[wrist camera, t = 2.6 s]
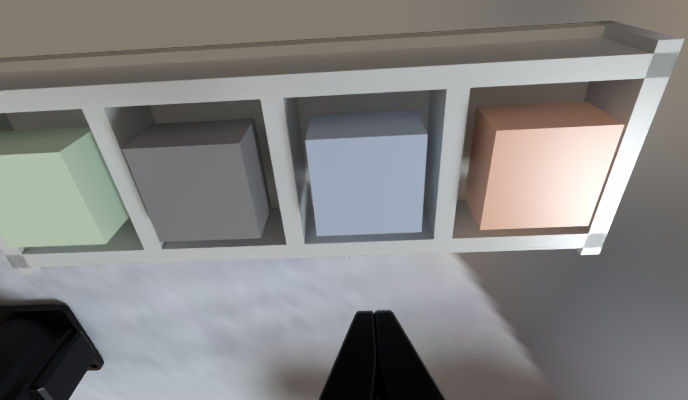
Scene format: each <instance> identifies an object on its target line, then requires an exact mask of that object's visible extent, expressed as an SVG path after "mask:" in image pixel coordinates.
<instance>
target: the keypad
mask: <svg viewBox="0 0 688 400" xmlns="http://www.w3.org/2000/svg"><path fill="white" fill-rule="evenodd" d="M683 41H684V39H683V38H679V37H675V36H671V35H667V34H663V33H659V32H655V31H651V30H647V29H643V28H639V27H635V26H630V25H626V24H622V23H619V22H615V21H603V22H602V21H601V22H584V23H569V24H553V25H537V26H520V27H502V28H486V29H469V30H453V31H437V32H420V33H404V34H388V35H373V36H372V35H371V36H355V37H340V38H339V37H338V38H323V39H306V40H291V41H290V40H289V41H273V42H257V43H241V44H224V45H207V46H191V47H174V48H158V49H142V50H127V51H110V52H95V53H94V52H92V53H78V54H77V53H76V54H60V55H44V56H29V57H28V56H27V57H11V58H0V132H5V131H25V130H44V129H63V128H82V127H90V129H91V131H92V133H93V135H94V138H95V140H96V142H97V144H98V147H99V149H100V151H101V153H102V156H103V158H104V160H105V162H106V165H107V167H108V169H109V171H110V174H111V176H112V178H113V180H114V183H115V185H116V187H117V189H118V192H119V194H120V196H121V198H122V201H123V203H124V205H125V207H126V210H127V212H128V214H129V218H128V219H127V220H126V221H125V222H124V224H123V225H122V226H121V227H120V228H119V229H118V231H117V232H116V233H115V234H114V235H113V237H112V238H111V239H110V240H109V241H108V242H107V244H97V245H71V246H44V247H18V248H9V247H8V246H7V244H6V243H5V241H4V240H3V239H2V237H1V236H0V249H1V250H2V252H3V253H4V255H5V256H6V257H7V259H8V260H9V262H10V263H11V264H12V266H13V267H14V269H15V270H16V271H17V273H18V274H35V273H36V272H37V271H38V270H39V269H40V268H41V267H60V266H88V265H116V264H145V263H173V262H201V261H230V260H258V259H286V258H315V257H343V256H371V255H400V254H428V253H456V252H482V251H483V252H484V251H513V250H538V249H540V250H541V249H568V248H576V249H577V251H578V252H579V253H580V254H581V255H591V254H599V253H600V251H601V248H602V246H603V243H604V241H605V238H606V235H607V233H608V230H609V228H610V225H611V223H612V220H613V218H614V215H615V213H616V210H617V208H618V205H619V203H620V200H621V198H622V195H623V192H624V190H625V188H626V185H627V183H628V180H629V178H630V175H631V173H632V170H633V167H634V165H635V162H636V160H637V157H638V155H639V152H640V150H641V147H642V145H643V142H644V140H645V137H646V135H647V132H648V130H649V127H650V124H651V122H652V120H653V117H654V115H655V112H656V110H657V107H658V104H659V102H660V99H661V97H662V94H663V92H664V89H665V87H666V84H667V82H668V79H669V77H670V74H671V72H672V69H673V67H674V64H675V62H676V59H677V57H678V54H679V52H680V49H681V47H682V44H683ZM582 101H587V102H589V103H591V104H592V105H594V106H595V107H597V108H599V109H600V110H602V111H604V112H605V113H607V114H608V115H610V116H612V117H613V118H615V119H617V120H618V121H620V122H622V123H623V124H625V125H624V128H623V131H622V133H621V136H620V139H619V142H618V145H617V147H616V150H615V153H614V156H613V159H612V161H611V164H610V167H609V170H608V173H607V175H606V178H605V181H604V184H603V186H602V189H601V192H600V195H599V198H598V200H597V203H596V206H595V209H594V212H593V214H592V217H591V220H590V223H589V226H573V227H547V228H520V229H494V230H480V229H479V227H478V225H477V223H476V221H475V219H474V217H473V215H472V212H471V210H470V208H469V206H468V204H467V202H466V200H465V191H466V183H467V175H468V168H469V160H470V153H471V145H472V138H473V130H474V123H475V115H476V108H477V107H486V106H505V105H525V104H544V103H563V102H582ZM409 110H418V113H419V115H420V117H421V120H422V122H423V124H424V127H425V129H426V131H427V134H428V138H427V154H426V169H425V185H424V201H423V216H422V232H414V233H388V234H362V235H335V236H317V232H316V224H315V216H314V208H313V200H312V192H311V184H310V176H309V168H308V160H307V152H306V143H305V139H306V134H307V130H308V126H309V122H310V118H311V116H313V115H332V114H352V113H371V112H390V111H409ZM236 119H254V120H255V126H256V131H257V136H258V141H259V146H260V151H261V156H262V161H263V166H264V172H265V177H266V182H267V187H268V192H269V197H270V202H271V208H270V211H269V214H268V217H267V220H266V224H265V227H264V230H263V233H262V236H261V238H256V239H229V240H203V241H176V242H160V241H159V238H158V236H157V233H156V231H155V228H154V226H153V224H152V221H151V219H150V216H149V214H148V211H147V209H146V206H145V204H144V202H143V199H142V197H141V194H140V192H139V189H138V187H137V185H136V182H135V180H134V177H133V175H132V172H131V170H130V167H129V165H128V163H127V160H126V158H125V155H124V153H123V150H122V149H123V148H124V147H125V146H126V145H128V144H129V143H130V142H131V141H132V140H133V139H135V138H136V137H137V136H138V135H139V134H141V133H142V132H143V131H144V130H145V129H146V128H148V127H149V126H150V125H151V124H159V123H179V122H198V121H217V120H236Z"/></svg>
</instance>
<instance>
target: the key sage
mask: <svg viewBox="0 0 688 400" xmlns="http://www.w3.org/2000/svg"><path fill="white" fill-rule="evenodd" d="M128 218H129V214H128V212H127V210H126V207H125V205H124V203H123V201H122V198H121V196H120V194H119V192H118V189H117V187H116V185H115V183H114V180H113V178H112V176H111V174H110V171H109V169H108V167H107V165H106V162H105V160H104V158H103V156H102V153H101V151H100V149H99V147H98V144H97V142H96V140H95V138H94V135H93V133H92V131H91V129H90V127H82V128H63V129H44V130H25V131H5V132H0V236H1V237H2V239H3V240H4V241H5V243H6V244H7V246H8V247H9V248H18V247H44V246H71V245H97V244H107V242H108V241H109V240H110V239H111V238H112V237H113V235H114V234H115V233H116V232H117V231H118V229H119V228H120V227H121V226H122V225H123V224H124V222H125V221H126V220H127V219H128Z"/></svg>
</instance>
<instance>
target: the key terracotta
mask: <svg viewBox="0 0 688 400" xmlns="http://www.w3.org/2000/svg"><path fill="white" fill-rule="evenodd" d="M624 125H625V124H623V123H622V122H620V121H618V120H617V119H615V118H613V117H612V116H610V115H608V114H607V113H605V112H604V111H602V110H600V109H599V108H597V107H595V106H594V105H592V104H591V103H589V102H587V101H582V102H563V103H544V104H525V105H505V106H486V107H477V108H476V115H475V123H474V130H473V138H472V145H471V153H470V160H469V168H468V175H467V183H466V191H465V200H466V202H467V204H468V206H469V208H470V210H471V212H472V215H473V217H474V219H475V221H476V223H477V225H478V227H479V229H480V230H494V229H520V228H547V227H573V226H589V223H590V220H591V217H592V214H593V212H594V209H595V206H596V203H597V200H598V198H599V195H600V192H601V189H602V186H603V184H604V181H605V178H606V175H607V173H608V170H609V167H610V164H611V161H612V159H613V156H614V153H615V150H616V147H617V145H618V142H619V139H620V136H621V133H622V131H623V128H624Z"/></svg>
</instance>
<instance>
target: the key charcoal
mask: <svg viewBox="0 0 688 400" xmlns="http://www.w3.org/2000/svg"><path fill="white" fill-rule="evenodd" d="M122 150H123V153H124V155H125V158H126V160H127V163H128V165H129V167H130V170H131V172H132V175H133V177H134V180H135V182H136V185H137V187H138V189H139V192H140V194H141V197H142V199H143V202H144V204H145V206H146V209H147V211H148V214H149V216H150V219H151V221H152V224H153V226H154V228H155V231H156V233H157V236H158V238H159V241H160V242H176V241H203V240H229V239H256V238H261V236H262V233H263V230H264V227H265V224H266V220H267V217H268V214H269V211H270V208H271V202H270V197H269V192H268V187H267V182H266V177H265V172H264V166H263V161H262V156H261V151H260V146H259V141H258V136H257V131H256V126H255V120H254V119H236V120H217V121H198V122H179V123H159V124H151V125H150V126H149V127H148V128H146V129H145V130H144V131H143V132H142V133H141V134H139V135H138V136H137V137H136V138H135V139H133V140H132V141H131V142H130V143H129V144H128V145H126V146H125V147H124V148H123V149H122Z"/></svg>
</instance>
